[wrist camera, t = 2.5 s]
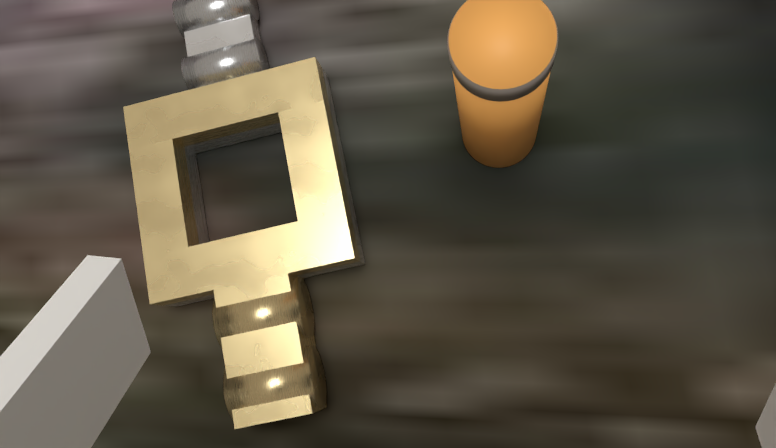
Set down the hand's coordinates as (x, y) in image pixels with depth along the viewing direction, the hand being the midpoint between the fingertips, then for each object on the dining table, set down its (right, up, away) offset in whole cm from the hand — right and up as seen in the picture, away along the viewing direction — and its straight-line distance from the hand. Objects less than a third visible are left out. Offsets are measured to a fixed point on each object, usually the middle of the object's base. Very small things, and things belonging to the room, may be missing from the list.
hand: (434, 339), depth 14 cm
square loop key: (-9, +4, +25) cm, 27 cm away
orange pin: (+5, +7, +23) cm, 25 cm away
